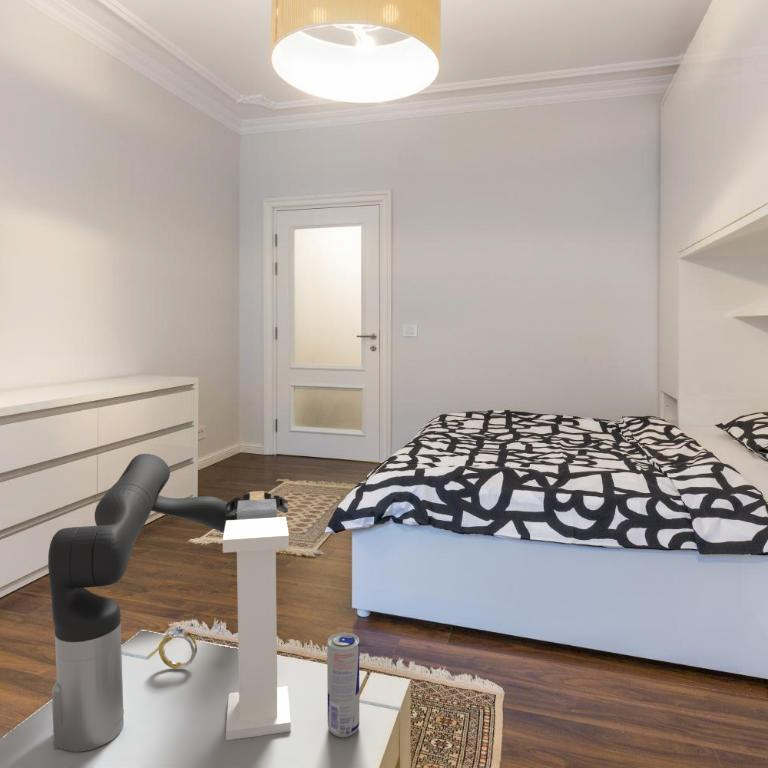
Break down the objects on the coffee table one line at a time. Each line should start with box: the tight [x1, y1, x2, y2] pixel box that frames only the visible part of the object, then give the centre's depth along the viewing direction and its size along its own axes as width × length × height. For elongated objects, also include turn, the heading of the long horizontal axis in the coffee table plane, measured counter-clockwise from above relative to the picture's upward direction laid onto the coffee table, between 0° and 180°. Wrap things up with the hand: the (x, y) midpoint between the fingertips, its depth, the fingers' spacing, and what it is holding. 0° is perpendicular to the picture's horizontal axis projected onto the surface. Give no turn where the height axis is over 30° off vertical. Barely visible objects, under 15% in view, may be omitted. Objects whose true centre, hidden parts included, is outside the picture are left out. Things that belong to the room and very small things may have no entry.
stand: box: [222, 516, 292, 741], centre depth 94 cm, size 10×10×32 cm
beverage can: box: [326, 632, 360, 738], centre depth 91 cm, size 5×5×15 cm
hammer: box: [237, 490, 278, 520], centre depth 112 cm, size 7×18×5 cm, turn 12°
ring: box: [158, 626, 198, 670], centre depth 109 cm, size 7×3×8 cm, turn 83°
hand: (256, 496), depth 116 cm, fingers closed on hammer, 3 cm apart
